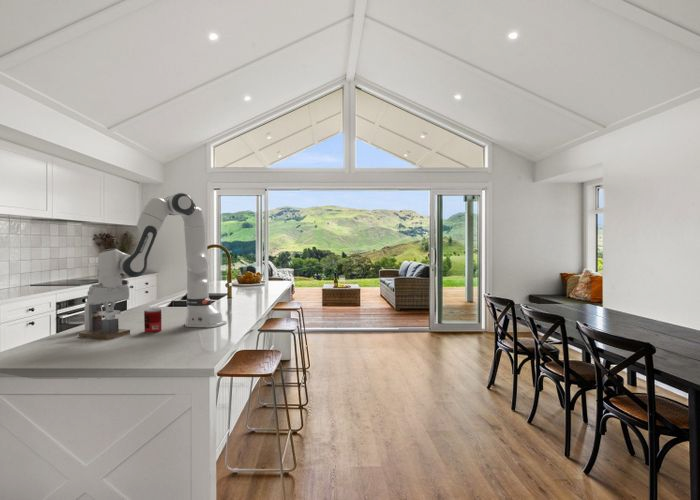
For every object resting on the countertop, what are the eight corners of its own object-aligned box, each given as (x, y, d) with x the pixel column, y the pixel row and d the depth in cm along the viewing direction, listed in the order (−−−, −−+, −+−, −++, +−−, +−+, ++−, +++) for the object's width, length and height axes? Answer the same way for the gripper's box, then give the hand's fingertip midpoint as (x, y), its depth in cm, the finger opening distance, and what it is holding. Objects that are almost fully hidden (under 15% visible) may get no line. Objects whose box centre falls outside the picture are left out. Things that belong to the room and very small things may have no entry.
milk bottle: (96, 331, 215) (95, 292, 214) (81, 331, 215) (80, 292, 214) (105, 328, 222) (104, 290, 222) (90, 328, 222) (90, 290, 222)
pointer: (103, 314, 209) (103, 313, 209) (97, 315, 206) (97, 314, 206) (100, 314, 209) (100, 312, 209) (94, 315, 206) (94, 314, 206)
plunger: (120, 327, 207) (120, 310, 207) (109, 329, 201) (108, 312, 201) (103, 325, 211) (103, 309, 211) (91, 328, 205) (91, 311, 205)
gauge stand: (130, 333, 209) (129, 303, 209) (106, 340, 197) (106, 307, 197) (102, 331, 216) (102, 301, 215) (78, 336, 203) (78, 305, 203)
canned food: (164, 329, 219) (164, 308, 219) (155, 333, 211) (155, 311, 211) (150, 329, 220) (150, 308, 219) (141, 332, 212) (140, 310, 211)
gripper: (94, 285, 193) (94, 315, 194) (131, 280, 213) (131, 308, 213) (84, 284, 196) (84, 314, 196) (121, 280, 215) (122, 307, 215)
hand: (109, 311), depth 205 cm, fingers closed, pressing on plunger
